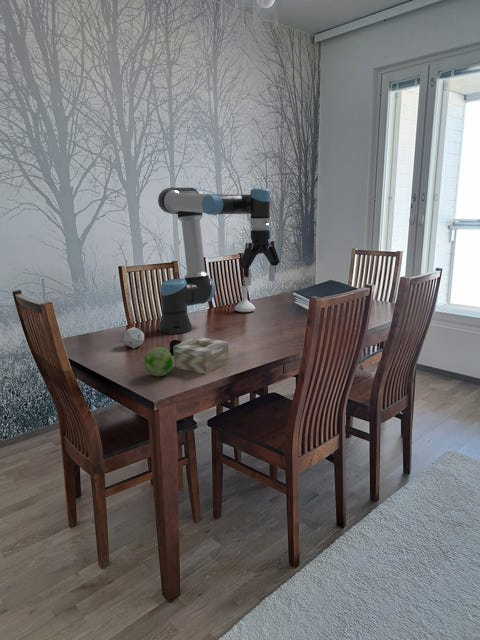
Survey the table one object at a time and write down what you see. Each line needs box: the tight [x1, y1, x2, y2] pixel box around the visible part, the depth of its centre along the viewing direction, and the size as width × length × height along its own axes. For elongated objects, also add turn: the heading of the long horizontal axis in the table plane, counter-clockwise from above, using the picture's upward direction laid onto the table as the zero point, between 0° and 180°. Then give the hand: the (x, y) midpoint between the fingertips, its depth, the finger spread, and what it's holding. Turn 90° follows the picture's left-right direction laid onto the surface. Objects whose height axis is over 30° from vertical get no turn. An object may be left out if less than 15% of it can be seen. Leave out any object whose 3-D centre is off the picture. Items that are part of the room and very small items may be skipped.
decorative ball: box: [143, 346, 174, 377], centre depth 157 cm, size 10×10×10 cm
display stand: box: [173, 336, 229, 375], centre depth 167 cm, size 14×14×8 cm
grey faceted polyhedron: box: [123, 326, 145, 350], centre depth 191 cm, size 8×9×10 cm
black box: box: [168, 339, 182, 357], centre depth 184 cm, size 13×8×5 cm, turn 161°
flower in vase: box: [234, 272, 256, 313], centre depth 251 cm, size 13×11×25 cm
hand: (260, 283), depth 187 cm, fingers open, 13 cm apart
